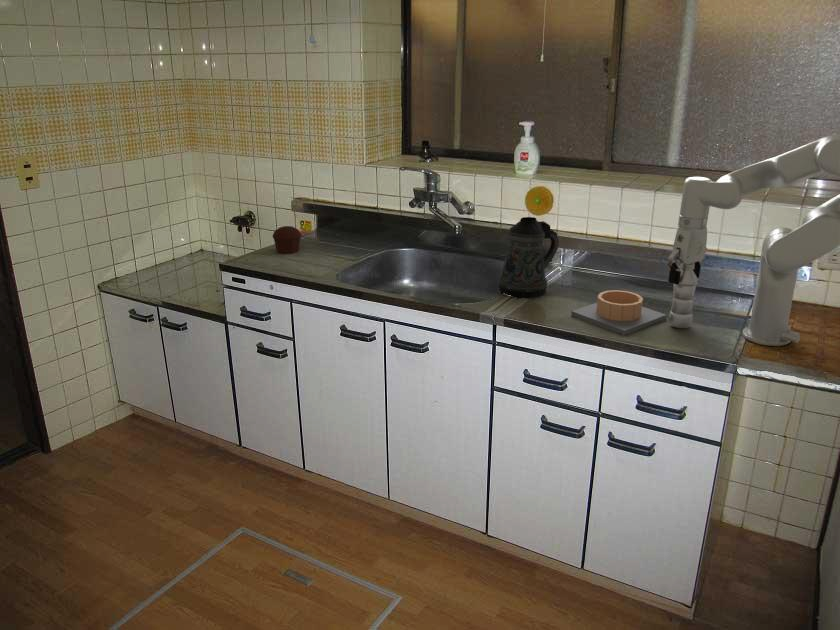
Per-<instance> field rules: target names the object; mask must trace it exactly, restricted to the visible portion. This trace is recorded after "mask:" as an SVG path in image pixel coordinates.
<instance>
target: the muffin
mask: <svg viewBox="0 0 840 630" xmlns="http://www.w3.org/2000/svg"><path fill="white" fill-rule="evenodd" d="M301 237H303V236H302V233H301V231H300V230H299V229H298V228H297V227H294V226H290V225H285V226H280V227H278V228H277V229H276V230H275V231H274V232H273V234H272V239H273V241H274V245H275V250H276V253H279V254H282V255H291V254H296V253H298V252H299V251H300V246H301Z"/></svg>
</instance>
